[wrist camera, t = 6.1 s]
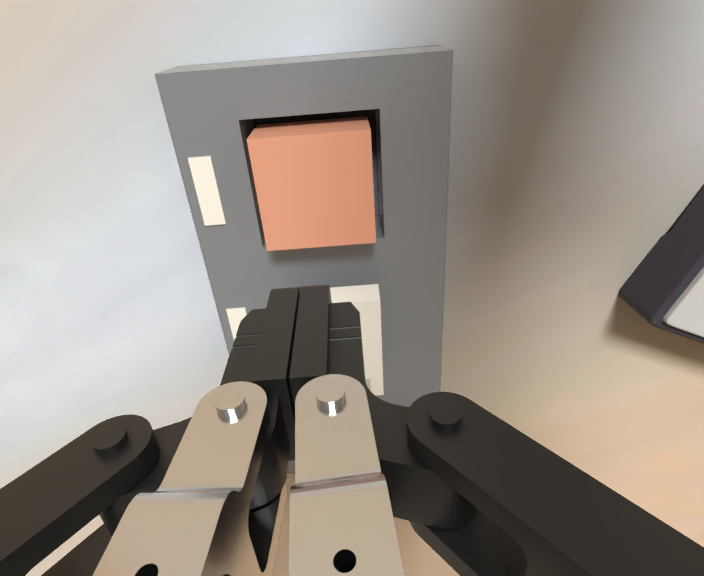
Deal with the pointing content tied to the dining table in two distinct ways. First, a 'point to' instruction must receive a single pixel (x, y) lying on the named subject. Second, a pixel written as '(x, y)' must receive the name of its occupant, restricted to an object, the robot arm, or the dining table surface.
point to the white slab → (367, 329)
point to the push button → (314, 182)
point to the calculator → (673, 277)
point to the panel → (393, 180)
